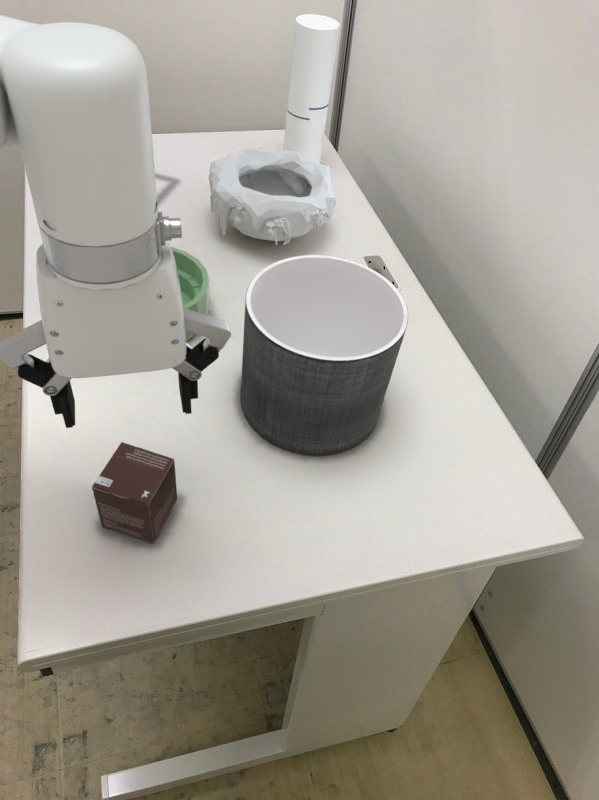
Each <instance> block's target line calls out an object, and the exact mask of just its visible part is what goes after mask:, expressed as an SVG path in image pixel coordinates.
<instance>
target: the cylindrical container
mask: <svg viewBox="0 0 599 800" xmlns="http://www.w3.org/2000/svg"><path fill="white" fill-rule="evenodd" d="M340 25H341V24H340V22H339V21H338V20H336V19H334V18H332V17H330V16H327V15H322V14H318V13H317V14H315V13H306V14H305V13H304V14H300V15H297V16H296V17H295V23H294V32H293V33H294V34H293V44H292V52H291V53H292V54H291V65H290V74H289V84H288V85H289V86H288V94H287V105H286V115H285V126H284V136H283V147H282V151H292V152H298V153H301V154H303V155H305V156H307V157H309V158H310V159H312V160H314V161H316V162H318V163H320V164H321V159H322V152H323V145H324V139H325V132H326V124H327V118H328V112H329V102H330V97H331V90H332V83H333V76H334V69H335V61H336V54H337V48H338V41H339V35H340V34H339V33H340Z"/></svg>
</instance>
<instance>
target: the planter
mask: <svg viewBox="0 0 599 800" xmlns="http://www.w3.org/2000/svg"><path fill="white" fill-rule="evenodd" d="M244 301H245V302H244V303H245V305H244V318H243V319H244V320H243V339H242V340H243V341H242V362H241V379H240V380H241V383H240V391H239V403H240V408H241V410H242V412H243V416H244V417H245V420H246V421H247V422H248V424H249V425H250V426H251V428H252V429H253V430H254V431H255V432H256V433H257V434H258V435H259V436H261V437H262V438H263V439H265V440H266V441H267V442H269V443H271V444H273V445H274V446H277V447H279V448H281V449H285V450H286V451H290V452H292V453H297V454H303V455H313V456H324V455H333V454H337V453H342V452H344V451H347V450H349V449H352V448H354V447H356V446H357V445H359V444H360V443H362V442H363V441H364V440H366V439H367V438H368V437H369V436H370V435H371V434H372V432H373V431H374V430H375V427H376V426H377V424H378V421H379V418H380V414H381V409H382V406H383V403H384V400H385V396H386V394H387V391H388V387H389V384H390V382H391V378H392V375H393V372H394V369H395V365H396V363H397V362H396V361H397V359H398V356H399V353H400V350H401V346H402V343H403V341H404V337H405V335H406V330H407V327H408V324H409V309H408V306H407V303H406V300H405V298H404V297H403V295H402V294H401V292H400V291H399V289H398V288H397V287H396V286H395V285H394V284H393V283H392V282H391V281H390V280H389V279H388V278H386V277H385V276H384V275H382V274H380V273H379V272H377V271H376V270H375V269H373V268H370V267H368V266H366V265H364V264H362V263H359V262H357V261H354V260H350V259H347V258H342V257H338V256H333V255H323V254H306V255H296V256H291V257H286V258H284V259H280V260H277V261H275V262H273V263H271V264H269V265H267V266H264V268H262V269H261V270H260V271H258V272H257V273H256V275H255V276H254V277H253V278H252V279H251V280H250V282H249V284H248V286H247V289H246V292H245V300H244Z"/></svg>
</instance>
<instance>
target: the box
mask: <svg viewBox="0 0 599 800" xmlns="http://www.w3.org/2000/svg"><path fill="white" fill-rule="evenodd" d="M175 462H176V461H175V458H172V457H169V456H166V455H163V454H161V453H158V452H154V451H151V450H148V449H144V448H141V447H138V446H135V445H133V444H129V443H126V442H122V441H121V442H120V443H119V445H118V447H117V448H116V449H115V451H114V452H113V454H112V455H111V457H110V459H109V460H108V462H107V463H106V465H105V467H104V468H103V469H102V471H101V472H100V474H99V475H98V476H97V478H96V480H95V481H94V482H93V484H92V486H91V490H92V492H93V493H92V494H93V498H94V501H95V505H96V509H97V513H98V517H99V520H100V525H101V527H103V528H105V529H109V530H113V531H114V532H115V531H116V532H118V533H121V534H124V535H127V536H130V537H133V538H136V539H139V540H142V541H145V542H148V543H150V544H154V543H155V542H156V540H157V538H158V536H159V535H160V533H161V531H162V529H163V527H164V525H165V523H166V521H167V520H168V517H169V515H170V513H171V512H172V510H173V507H174V506H175V504H176V502H177V501H178V491H177V490H178V489H177V477H176V465H175Z"/></svg>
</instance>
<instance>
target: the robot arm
mask: <svg viewBox="0 0 599 800" xmlns="http://www.w3.org/2000/svg"><path fill="white" fill-rule="evenodd" d="M151 117H152V116H151V104H150V91H149V81H148V72H147V66H146V62H145V59H144V57H143V54H142V53H141V51H140V49H139V48H138V47H137V45H136V44H135V43H134V41H132V40H131V39H130V38H129V37H127V35H125V34H123V33H121V32H119V31H118V30H116V29H112V28H111V27H110V28H109V27H107V26H103V25H98V24H93V23H87V22H77V21H62V22H60V21H59V22H51V23H44V24H40V23H35V22H30V21H26V20H22V19H18V18H13V17H9V16H5V15H1V14H0V152H1V151H3V150H5V149H6V148H9V147H13V148H17V149H18V150H19V151H20V153H21V158H22V161H23V166H24V170H25V174H26V178H27V183H28V187H29V191H30V196H31V200H32V204H33V209H34V213H35V216H36V221H37V224H38V228H39V233H40V237H41V242H42V244H40V245H39V247H38V249H37V251H36V259H35V261H36V263H35V267H36V268H35V269H36V270H35V271H36V282H37V284H36V285H37V292H38V293H37V294H38V302H39V310H40V316H41V320H38V321H37V322H35V323H32V324H31V325H28V326H27V327H25V328H23V329H21V330H18V331H17V332H14V333H13V334H11V335H9V336H7V337H5V338H2V339H1V340H0V360H1V361H2V362H3V363H4V364H5V365H7V366H8V367H9V368H10V369H11V370H14V371H16V373H17V376H18V377H19V378H20V379H21V380H24V381H26V382H28V383H30V384H33V385H34V386H36V387H39V388H41V389H42V393H43V394H44V395H46V396H48V397H49V399H50V401H51V405H52V408H53V411H54V415H62V418H63V422H64V425H65V428H66V429H71V428H73V427H74V426H76V401H75V396H74V391H73V387H72V384H71V380H72V379H89V378H101V377H109V376H121V375H129V374H139V373H148V372H156V371H157V372H158V371H164V370H169V369H173V370H174V371H176V372H177V376H178V378H177V379H178V389H179V397H180V402H181V409H182V413H184V414H185V415H190V414H192V400H196V399H199V386H198V383H199V382H198V380H200V379H201V378H202V375H203V374H202V372H203V371H204V370H206V369H207V368H208V367H209V366H210V365H212V364H213V363H214V362H216V360H218V359H219V356H220V352H221V350H223V349H224V347H225V346H226V344H227V343H228V341H229V340H230V338H231V336H232V333H231V329H230V325H229V322H228V321H226V320H224V319H221V318H217V317H214V316H211V315H209V314H208V315H205V314H201V313H198V312H195V311H192V310H189V309H185V308H183V304H182V297H181V289H180V282H179V277H178V272H177V266H176V262H175V258H174V255H173V252H172V249H171V247H172V245H171V243H170V241H172V239H182V238H183V231H182V221H181V217H175V218H174V217H173V218H172V217H171V218H170V216H168V215H167V216H163V212H162V211H159V205H158V196H157V195H158V194H157V183H156V182H157V181H156V171H155V170H156V169H155V156H154V155H155V153H154V142H153V141H154V140H153V131H152V130H153V129H152V118H151ZM185 331H187V332H190V333H194V334H196V335H197V336H200V337H204V338H203V339H202V340H201V341H199V342H198V343H197V344H196V345H195V346H192V345H191V344H190V343H188V342H187V340H186V332H185ZM45 345H46V349H47V350H46V351H47V354H48V359H46V361H45V360H43V359H41V358H39V357H37V356H35V355H33V354H30V353H31V352H32V351H35V350H36V349H39V348H40V347H43V346H45Z"/></svg>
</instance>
